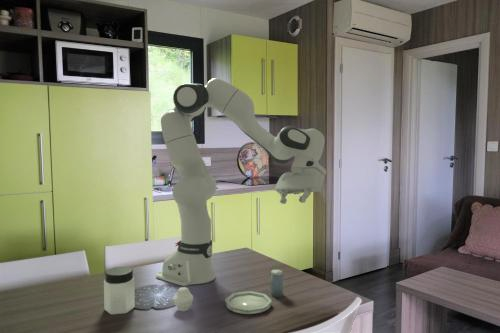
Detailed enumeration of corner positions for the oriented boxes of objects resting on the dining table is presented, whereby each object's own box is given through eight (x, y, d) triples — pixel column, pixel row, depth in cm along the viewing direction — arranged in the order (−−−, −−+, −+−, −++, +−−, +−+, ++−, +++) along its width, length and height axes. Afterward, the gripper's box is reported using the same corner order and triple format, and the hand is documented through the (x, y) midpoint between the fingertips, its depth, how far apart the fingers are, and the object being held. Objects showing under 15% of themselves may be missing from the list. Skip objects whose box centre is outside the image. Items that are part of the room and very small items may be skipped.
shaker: (269, 295, 133) (269, 272, 133) (273, 291, 137) (273, 268, 136) (280, 297, 132) (280, 274, 131) (284, 293, 135) (284, 270, 135)
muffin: (175, 304, 126) (175, 283, 125) (195, 305, 126) (194, 283, 125) (171, 313, 120) (171, 290, 119) (191, 313, 119) (191, 291, 119)
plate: (218, 310, 122) (218, 304, 122) (238, 293, 135) (238, 288, 135) (260, 318, 116) (260, 313, 116) (277, 301, 129) (277, 295, 129)
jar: (102, 316, 118) (101, 276, 117) (106, 304, 126) (105, 267, 125) (134, 313, 120) (133, 274, 119) (135, 302, 128) (134, 265, 127)
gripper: (278, 167, 151) (266, 199, 146) (319, 161, 136) (307, 196, 130) (289, 176, 155) (277, 207, 149) (330, 170, 139) (319, 205, 133)
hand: (291, 202), depth 139 cm, fingers open, 8 cm apart
